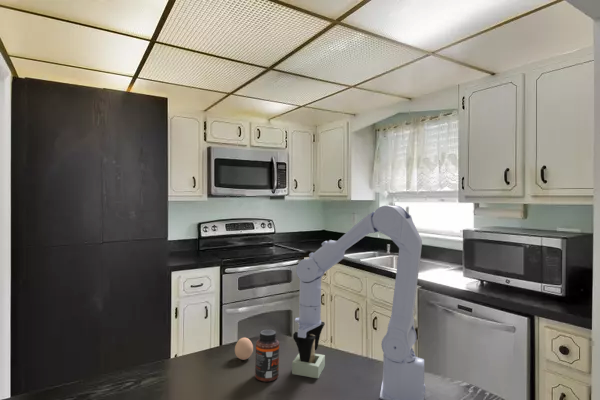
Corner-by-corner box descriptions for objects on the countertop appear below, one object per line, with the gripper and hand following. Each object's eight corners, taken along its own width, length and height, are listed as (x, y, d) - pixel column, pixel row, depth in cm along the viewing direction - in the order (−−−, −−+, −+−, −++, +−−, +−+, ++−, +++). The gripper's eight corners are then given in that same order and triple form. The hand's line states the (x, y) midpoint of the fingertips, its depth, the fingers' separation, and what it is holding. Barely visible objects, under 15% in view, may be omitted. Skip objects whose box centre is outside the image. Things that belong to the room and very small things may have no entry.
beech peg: (315, 368, 95) (316, 334, 95) (312, 373, 92) (313, 338, 92) (304, 366, 96) (305, 333, 95) (301, 371, 93) (302, 337, 93)
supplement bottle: (275, 384, 86) (276, 337, 86) (251, 381, 87) (252, 335, 87) (281, 372, 92) (282, 329, 92) (259, 369, 93) (260, 326, 93)
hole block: (324, 366, 96) (325, 355, 96) (318, 378, 89) (318, 366, 89) (300, 362, 98) (300, 351, 98) (292, 373, 91) (292, 362, 91)
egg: (235, 355, 102) (235, 334, 102) (253, 354, 102) (253, 334, 102) (233, 363, 97) (234, 341, 97) (252, 362, 97) (253, 341, 97)
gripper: (303, 295, 102) (302, 342, 102) (286, 310, 88) (285, 364, 88) (327, 297, 100) (326, 346, 100) (313, 313, 86) (312, 369, 86)
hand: (309, 355), depth 94 cm, fingers open, 7 cm apart
